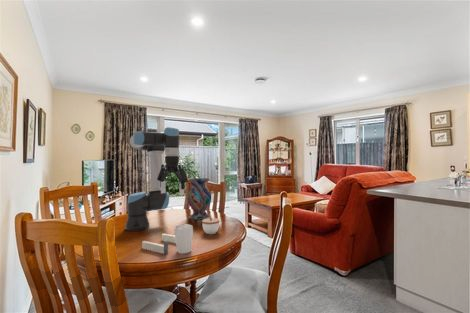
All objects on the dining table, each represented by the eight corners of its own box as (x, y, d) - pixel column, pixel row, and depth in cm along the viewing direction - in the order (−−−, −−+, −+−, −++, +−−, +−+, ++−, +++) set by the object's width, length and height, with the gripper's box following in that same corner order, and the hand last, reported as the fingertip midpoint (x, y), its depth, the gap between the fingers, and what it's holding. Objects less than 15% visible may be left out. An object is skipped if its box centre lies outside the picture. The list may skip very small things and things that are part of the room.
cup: (176, 247, 123) (176, 224, 123) (194, 247, 124) (193, 223, 124) (173, 255, 114) (173, 230, 114) (192, 254, 115) (192, 229, 115)
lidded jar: (217, 235, 142) (216, 220, 142) (199, 235, 144) (199, 219, 144) (221, 230, 152) (221, 215, 152) (205, 229, 154) (205, 215, 154)
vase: (184, 220, 180) (183, 180, 180) (192, 214, 198) (191, 178, 198) (207, 220, 177) (207, 180, 177) (214, 214, 195) (213, 177, 195)
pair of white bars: (141, 248, 123) (141, 237, 123) (164, 239, 137) (163, 229, 137) (165, 254, 115) (165, 242, 115) (187, 244, 129) (187, 233, 129)
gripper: (150, 155, 134) (150, 193, 135) (185, 156, 122) (185, 197, 123) (160, 155, 141) (160, 191, 142) (194, 155, 129) (194, 195, 130)
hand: (172, 194), depth 132 cm, fingers open, 13 cm apart
